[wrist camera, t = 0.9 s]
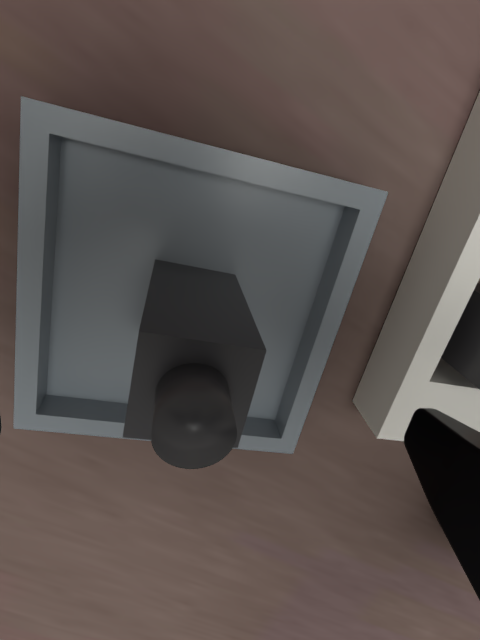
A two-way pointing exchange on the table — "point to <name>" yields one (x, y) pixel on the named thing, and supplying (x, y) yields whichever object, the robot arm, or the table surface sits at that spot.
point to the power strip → (430, 308)
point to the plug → (193, 366)
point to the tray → (177, 247)
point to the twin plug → (466, 341)
